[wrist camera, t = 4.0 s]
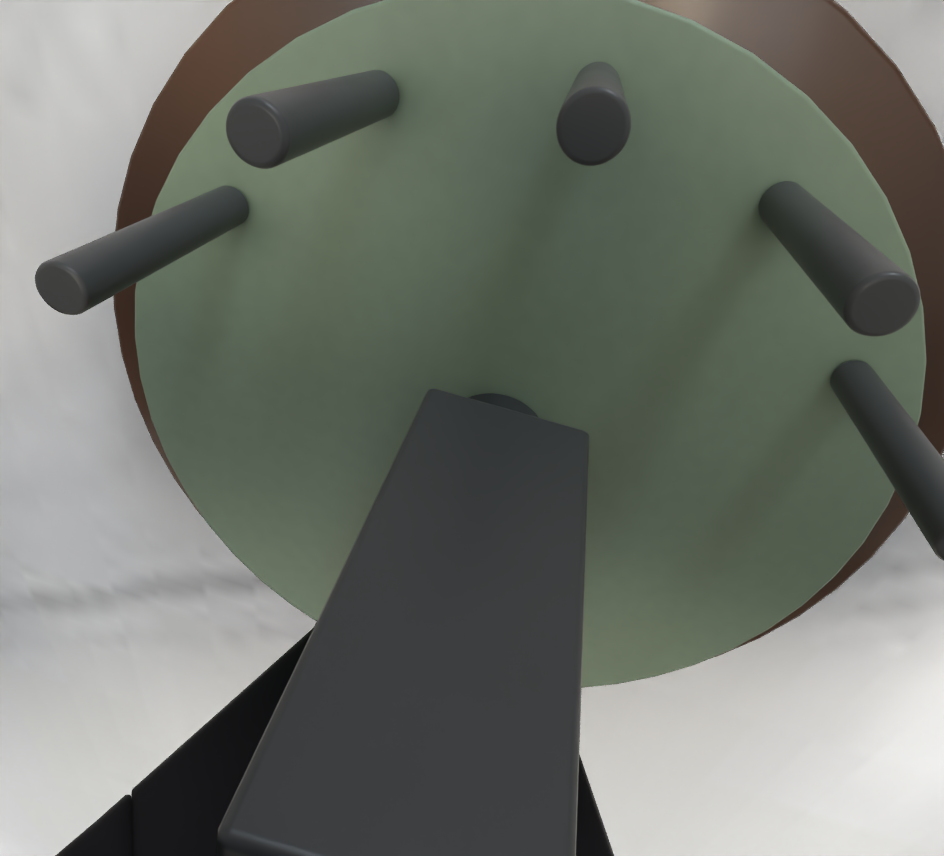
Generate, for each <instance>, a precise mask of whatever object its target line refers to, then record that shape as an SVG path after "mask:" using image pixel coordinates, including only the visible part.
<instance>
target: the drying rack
mask: <svg viewBox="0 0 944 856" xmlns="http://www.w3.org/2000/svg"><path fill="white" fill-rule="evenodd" d="M35 283H36V287H37V290H38V292H39V294H40V295H41V297H42V298H43V299H44V301H45V302H46V303H47V304H48V305H49V306H51V307H52V308H53V309H55V310H57V311H58V312H61V313H64V314H69V315H77V314H80V313H83V312H85V311H86V310H88V309H90V308H92V307H93V306H95V305H97V304H99V303H101V302H102V301H104V300H106V299H108V298H110V297H111V296H113V295H115V294H117V293H119V292H120V291H122V290H124V289H126V288H128V287H129V286H131V285H133V284H135V283H136V289H135V341H136V348H137V356H138V363H139V371H140V378H141V382H142V386H143V390H144V393H145V397H146V401H147V405H148V408H149V412H150V416H151V419H152V422H153V424H154V427H155V429H156V432H157V434H158V437H159V439H160V442H161V444H162V447H163V449H164V452H165V454H166V456H167V458H168V460H169V462H170V464H171V466H172V468H173V469H174V471H175V473H176V475H177V477H178V479H179V480H180V482H181V484H182V486H183V488H184V490H185V492H186V493H187V495H188V496H189V497H190V499H191V500H192V502H193V503H194V505H195V506H196V508H197V509H198V510H199V512H200V513H201V515H202V516H203V518H204V519H205V521H206V522H207V523H208V525H209V526H210V527H211V528H212V529H213V531H214V532H215V533H216V534H217V535H218V536H219V538H220V539H221V540H222V541H223V542H224V543H225V545H226V546H227V547H228V548H229V549H230V550H231V552H232V553H233V554H234V555H235V556H236V557H237V558H238V559H239V560H240V561H241V562H242V563H243V564H244V565H245V566H247V567H248V568H249V569H250V570H251V571H252V572H253V573H254V574H255V575H256V576H257V577H258V578H259V579H260V580H261V581H262V582H264V583H265V584H266V585H267V586H269V587H270V588H271V589H272V590H274V591H275V592H276V593H277V594H279V595H280V596H281V597H282V598H284V599H285V600H286V601H287V602H289V603H290V604H291V605H293V606H294V607H296V608H297V609H299V610H300V611H302V612H303V613H305V614H306V615H308V616H309V617H311V618H312V619H314V620H315V621H317V622H316V625H315V627H314V629H313V631H312V633H311V635H310V637H309V639H308V641H307V643H306V646H305V648H304V650H303V652H302V654H301V656H300V658H299V660H298V662H297V664H296V666H295V669H294V671H293V673H292V675H291V677H290V679H289V681H288V683H287V685H286V687H285V690H284V692H283V694H282V696H281V698H280V700H279V702H278V704H277V706H276V708H275V710H274V713H273V715H272V717H271V719H270V721H269V723H268V725H267V727H266V729H265V731H264V734H263V736H262V738H261V740H260V742H259V744H258V746H257V748H256V750H255V752H254V754H253V757H252V759H251V761H250V763H249V765H248V767H247V769H246V771H245V773H244V775H243V778H242V780H241V782H240V784H239V786H238V788H237V790H236V792H235V794H234V796H233V798H232V801H231V803H230V805H229V807H228V809H227V811H226V813H225V815H224V817H223V819H222V822H221V824H220V826H219V828H218V834H217V856H576V835H577V804H578V773H579V743H580V712H581V688H582V687H592V686H602V685H612V684H619V683H624V682H629V681H634V680H640V679H645V678H650V677H655V676H658V675H662V674H665V673H668V672H672V671H675V670H678V669H682V668H685V667H689V666H692V665H695V664H697V663H700V662H702V661H705V660H707V659H709V658H712V657H714V656H717V655H719V654H722V653H724V652H726V651H729V650H731V649H733V648H735V647H737V646H739V645H741V644H742V643H744V642H746V641H748V640H750V639H752V638H753V637H755V636H757V635H759V634H761V633H763V632H764V631H766V630H768V629H770V628H771V627H772V626H774V625H775V624H777V623H778V622H779V621H781V620H782V619H784V618H785V617H787V616H788V615H789V614H791V613H792V612H794V611H795V610H797V609H798V608H799V607H801V606H802V605H804V604H805V603H806V602H807V601H808V600H809V599H810V598H811V597H812V596H814V595H815V594H816V593H817V592H818V591H819V590H820V589H821V588H822V587H824V586H825V585H826V584H827V583H828V582H829V581H830V580H831V579H832V578H834V577H835V576H836V574H837V573H838V572H839V571H840V570H841V569H842V567H843V566H844V565H845V564H846V563H847V562H848V560H849V559H850V558H851V557H852V556H853V555H854V553H855V552H856V551H857V550H858V549H859V548H860V546H861V545H862V544H863V543H864V541H865V540H866V538H867V537H868V535H869V534H870V532H871V531H872V529H873V527H874V526H875V524H876V523H877V521H878V520H879V518H880V517H881V515H882V513H883V512H884V510H885V509H886V507H887V506H888V504H889V502H890V500H891V497H892V495H893V493H894V491H895V490H896V492H897V493H898V495H899V496H900V498H901V500H902V501H903V503H904V504H905V506H906V508H907V509H908V511H909V512H910V514H911V516H912V517H913V519H914V520H915V522H916V524H917V525H918V527H919V528H920V530H921V532H922V533H923V535H924V536H925V538H926V540H927V541H928V543H929V544H930V546H931V548H932V549H933V551H934V552H935V554H936V555H937V556H938V557H939V558H940V559H942V560H944V459H943V458H942V457H941V455H940V454H939V453H938V451H937V450H936V449H935V448H934V446H933V445H932V444H931V442H930V441H929V440H928V439H927V437H926V436H925V435H924V433H923V432H922V431H921V430H920V428H919V427H918V422H919V419H920V415H921V408H922V399H923V389H924V380H925V371H926V345H925V329H924V313H923V305H922V300H921V296H920V289H919V286H918V284H917V279H916V275H915V271H914V267H913V262H912V258H911V254H910V251H909V249H908V246H907V244H906V242H905V239H904V237H903V235H902V232H901V230H900V228H899V225H898V223H897V221H896V218H895V216H894V214H893V211H892V209H891V207H890V204H889V202H888V200H887V197H886V196H885V194H884V193H883V191H882V189H881V188H880V186H879V185H878V183H877V182H876V180H875V179H874V177H873V176H872V174H871V172H870V171H869V169H868V168H867V166H866V165H865V163H864V162H863V160H862V159H861V157H860V156H859V154H858V152H857V151H856V149H855V148H854V146H853V145H852V143H851V142H850V141H849V140H848V139H847V138H846V137H845V136H844V135H843V134H842V133H841V132H840V130H839V129H838V128H837V127H836V126H835V125H834V124H833V123H832V122H831V121H830V120H829V118H828V117H827V116H826V115H825V114H824V113H823V112H822V111H821V110H820V109H819V108H818V107H817V105H816V104H815V103H814V102H813V101H812V100H811V99H810V98H809V97H808V96H807V95H806V94H805V93H804V92H802V91H801V90H800V89H798V88H797V87H796V86H795V85H793V84H792V83H791V82H789V81H788V80H787V79H786V78H784V77H783V76H782V75H780V74H779V73H778V72H777V71H775V70H774V69H773V68H771V67H770V66H769V65H768V64H766V63H765V62H764V61H762V60H761V59H760V58H759V57H757V56H756V55H755V54H753V53H752V52H750V51H748V50H746V49H744V48H743V47H741V46H739V45H737V44H735V43H733V42H732V41H730V40H728V39H726V38H724V37H722V36H721V35H719V34H717V33H715V32H713V31H711V30H710V29H708V28H706V27H704V26H702V25H700V24H699V23H697V22H695V21H693V20H691V19H688V18H686V17H683V16H680V15H677V14H674V13H671V12H669V11H666V10H663V9H660V8H657V7H654V6H652V5H649V4H646V3H643V2H640V1H637V0H383V1H380V2H377V3H373V4H370V5H367V6H364V7H360V8H357V9H354V10H351V11H349V12H347V13H345V14H343V15H341V16H339V17H337V18H335V19H333V20H331V21H329V22H327V23H325V24H323V25H321V26H319V27H317V28H315V29H313V30H311V31H309V32H307V33H305V34H303V35H301V36H299V37H297V38H295V39H294V40H293V41H291V42H290V43H288V44H287V45H286V46H284V47H283V48H282V49H280V50H279V51H277V52H276V53H275V54H273V55H272V56H270V57H269V58H268V59H266V60H265V61H263V62H262V63H261V64H259V65H258V66H257V67H255V68H254V69H252V70H251V71H250V72H248V73H247V74H246V75H245V76H244V77H243V78H242V79H241V80H240V81H239V82H238V83H237V84H236V85H235V86H234V87H233V88H232V89H231V90H230V91H229V92H228V93H227V94H226V95H225V96H224V97H223V98H222V99H221V100H220V101H219V103H218V104H217V105H216V106H215V107H214V108H213V109H212V110H211V111H210V112H209V113H208V114H207V116H206V117H205V118H204V120H203V121H202V123H201V124H200V126H199V127H198V128H197V130H196V131H195V133H194V134H193V135H192V137H191V138H190V140H189V141H188V142H187V144H186V145H185V147H184V148H183V149H182V151H181V152H180V154H179V155H178V157H177V159H176V161H175V163H174V165H173V167H172V169H171V171H170V173H169V175H168V177H167V179H166V181H165V184H164V186H163V188H162V190H161V192H160V194H159V196H158V198H157V200H156V203H155V206H154V209H153V212H152V216H151V217H148V218H146V219H144V220H141V221H139V222H137V223H134V224H132V225H130V226H127V227H125V228H123V229H120V230H118V231H116V232H113V233H111V234H109V235H106V236H104V237H102V238H99V239H97V240H95V241H92V242H90V243H88V244H85V245H83V246H81V247H78V248H76V249H74V250H71V251H69V252H67V253H64V254H62V255H60V256H57V257H55V258H53V259H50V260H48V261H46V262H44V263H42V264H41V265H40V266H39V268H38V269H37V272H36V275H35Z"/></svg>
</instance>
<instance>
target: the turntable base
mask: <svg viewBox="0 0 944 856" xmlns="http://www.w3.org/2000/svg"><path fill="white" fill-rule="evenodd" d="M380 1H383V0H233V1H232V2H231V3H229V4H228V5H227V6H226V7H225V8H224V9H223V10H222V12H221V13H220V14H219V15H218V16H217V17H216V18H215V20H214V21H213V22H212V23H211V24H210V25H209V26H208V28H207V29H206V30H205V31H204V32H203V33H202V34H201V36H200V37H199V38H198V39H197V40H196V41H195V42H194V44H193V45H192V46H191V47H190V48H189V49H188V50H187V52H186V53H185V54H184V56H183V57H182V59H181V61H180V62H179V64H178V65H177V67H176V69H175V70H174V72H173V73H172V75H171V77H170V78H169V80H168V81H167V83H166V85H165V86H164V88H163V89H162V91H161V93H160V94H159V96H158V97H157V99H156V101H155V102H154V104H153V106H152V108H151V111H150V113H149V115H148V118H147V120H146V122H145V125H144V127H143V130H142V132H141V134H140V137H139V139H138V141H137V144H136V146H135V148H134V151H133V153H132V155H131V159H130V163H129V166H128V170H127V174H126V178H125V182H124V186H123V190H122V194H121V198H120V202H119V206H118V211H117V221H116V230H115V232H116V231H118V230H120V229H123V228H125V227H127V226H130V225H132V224H134V223H137V222H139V221H141V220H144V219H146V218H148V217H151V216H152V212H153V209H154V206H155V203H156V200H157V198H158V196H159V194H160V192H161V190H162V188H163V186H164V184H165V181H166V179H167V177H168V175H169V173H170V171H171V169H172V167H173V165H174V163H175V161H176V159H177V157H178V155H179V154H180V152H181V151H182V149H183V148H184V147H185V145H186V144H187V142H188V141H189V140H190V138H191V137H192V135H193V134H194V133H195V131H196V130H197V128H198V127H199V126H200V124H201V123H202V121H203V120H204V118H205V117H206V116H207V114H208V113H209V112H210V111H211V110H212V109H213V108H214V107H215V106H216V105H217V104H218V103H219V101H220V100H221V99H222V98H223V97H224V96H225V95H226V94H227V93H228V92H229V91H230V90H231V89H232V88H233V87H234V86H235V85H236V84H237V83H238V82H239V81H240V80H241V79H242V78H243V77H244V76H245V75H246V74H247V73H248V72H250V71H251V70H252V69H254V68H255V67H257V66H258V65H259V64H261V63H262V62H263V61H265V60H266V59H268V58H269V57H270V56H272V55H273V54H275V53H276V52H277V51H279V50H280V49H282V48H283V47H284V46H286V45H287V44H288V43H290V42H291V41H293V40H294V39H295V38H297V37H299V36H301V35H303V34H305V33H307V32H309V31H311V30H313V29H315V28H317V27H319V26H321V25H323V24H325V23H327V22H329V21H331V20H333V19H335V18H337V17H339V16H341V15H343V14H345V13H347V12H349V11H351V10H354V9H357V8H360V7H364V6H367V5H370V4H373V3H377V2H380ZM637 1H640V2H643V3H646V4H649V5H652V6H654V7H657V8H660V9H663V10H666V11H669V12H671V13H674V14H677V15H680V16H683V17H686V18H688V19H691V20H693V21H695V22H697V23H699V24H700V25H702V26H704V27H706V28H708V29H710V30H711V31H713V32H715V33H717V34H719V35H721V36H722V37H724V38H726V39H728V40H730V41H732V42H733V43H735V44H737V45H739V46H741V47H743V48H744V49H746V50H748V51H750V52H752V53H753V54H755V55H756V56H757V57H759V58H760V59H761V60H762V61H764V62H765V63H766V64H768V65H769V66H770V67H771V68H773V69H774V70H775V71H777V72H778V73H779V74H780V75H782V76H783V77H784V78H786V79H787V80H788V81H789V82H791V83H792V84H793V85H795V86H796V87H797V88H798V89H800V90H801V91H802V92H804V93H805V94H806V95H807V96H808V97H809V98H810V99H811V100H812V101H813V102H814V103H815V104H816V105H817V107H818V108H819V109H820V110H821V111H822V112H823V113H824V114H825V115H826V116H827V117H828V118H829V120H830V121H831V122H832V123H833V124H834V125H835V126H836V127H837V128H838V129H839V130H840V132H841V133H842V134H843V135H844V136H845V137H846V138H847V139H848V140H849V141H850V142H851V143H852V145H853V146H854V148H855V149H856V151H857V152H858V154H859V156H860V157H861V159H862V160H863V162H864V163H865V165H866V166H867V168H868V169H869V171H870V172H871V174H872V176H873V177H874V179H875V180H876V182H877V183H878V185H879V186H880V188H881V189H882V191H883V193H884V194H885V196H886V197H887V200H888V202H889V204H890V207H891V209H892V211H893V214H894V216H895V218H896V221H897V223H898V225H899V228H900V230H901V232H902V235H903V237H904V239H905V242H906V244H907V246H908V249H909V251H910V254H911V258H912V262H913V267H914V271H915V275H916V279H917V284H918V286H919V289H920V296H921V300H922V305H923V313H924V329H925V345H926V371H925V380H924V389H923V399H922V408H921V415H920V419H919V422H918V427H919V428H920V430H921V431H922V432H923V433H924V435H925V436H926V437H927V439H928V440H929V441H930V442H931V444H932V445H933V446H934V448H935V449H936V450H937V451H938V453H939V454H940V455H941V456H942V454H943V451H944V147H943V145H942V142H941V140H940V137H939V135H938V133H937V130H936V128H935V125H934V124H933V122H932V121H931V119H930V118H929V116H928V114H927V113H926V111H925V110H924V108H923V106H922V105H921V103H920V102H919V100H918V99H917V97H916V95H915V94H914V92H913V91H912V89H911V87H910V86H909V84H908V83H907V81H906V79H905V78H904V76H903V75H902V73H901V72H900V70H899V68H898V67H897V65H896V64H895V63H894V62H893V61H892V60H891V59H890V58H889V56H888V55H887V54H886V53H885V52H884V51H883V50H882V49H881V48H880V47H879V45H878V44H877V43H876V42H875V41H874V40H873V39H872V38H871V37H870V36H869V34H868V33H867V32H866V31H865V30H864V29H863V28H862V27H861V26H860V25H859V23H858V22H857V21H856V20H855V19H854V18H853V17H852V16H851V15H850V14H849V12H848V11H847V10H846V9H844V8H843V7H842V6H840V5H839V4H838V3H837V2H835V1H834V0H637ZM135 289H136V283H135V284H133V285H131V286H129V287H128V288H126V289H124V290H122V291H120V292H119V293H117V294H115V295H114V311H115V317H116V323H117V329H118V335H119V341H120V347H121V353H122V357H123V361H124V364H125V367H126V371H127V374H128V378H129V381H130V384H131V388H132V391H133V394H134V398H135V401H136V403H137V405H138V408H139V410H140V412H141V415H142V417H143V419H144V422H145V424H146V426H147V429H148V431H149V433H150V436H151V438H152V440H153V442H154V444H155V445H156V447H157V449H158V451H159V453H160V454H161V456H162V458H163V460H164V461H165V463H166V465H167V467H168V468H169V470H170V472H171V474H172V475H173V477H174V479H175V480H176V482H177V483H178V484H179V486H180V487H181V489H182V490H183V491H184V493H185V494H186V496H187V497H188V498H189V500H190V501H191V503H192V504H193V505H194V503H193V502H192V500H191V499H190V497H189V496H188V495H187V493H186V492H185V490H184V488H183V486H182V484H181V482H180V480H179V479H178V477H177V475H176V473H175V471H174V469H173V468H172V466H171V464H170V462H169V460H168V458H167V456H166V454H165V452H164V449H163V447H162V444H161V442H160V439H159V437H158V434H157V432H156V429H155V427H154V424H153V422H152V419H151V416H150V412H149V408H148V405H147V401H146V397H145V393H144V390H143V386H142V382H141V378H140V371H139V363H138V356H137V348H136V341H135ZM194 507H195V508H196V506H195V505H194ZM196 510H197V511H198V512H199V510H198V509H197V508H196ZM908 513H909V511H908V509H907V508H906V506H905V504H904V503H903V501H902V500H901V498H900V496H899V495H898V493H897V492H896V490H895V491H894V493H893V495H892V497H891V500H890V502H889V504H888V506H887V507H886V509H885V510H884V512H883V513H882V515H881V517H880V518H879V520H878V521H877V523H876V524H875V526H874V527H873V529H872V531H871V532H870V534H869V535H868V537H867V538H866V540H865V541H864V543H863V544H862V545H861V546H860V548H859V549H858V550H857V551H856V552H855V553H854V555H853V556H852V557H851V558H850V559H849V560H848V562H847V563H846V564H845V565H844V566H843V567H842V569H841V570H840V571H839V572H838V573H837V574H836V576H835V577H834V578H832V579H831V580H830V581H829V582H828V583H827V584H826V585H825V586H824V587H822V588H821V589H820V590H819V591H818V592H817V593H816V594H815V595H814V596H812V597H811V598H810V599H809V600H808V601H807V602H806V603H805V604H804V605H802V606H801V607H799V608H798V609H797V610H795V611H794V612H792V613H791V614H789V615H788V616H787V617H785V618H784V619H782V620H781V621H779V622H778V623H777V624H775V625H774V626H772V627H771V628H770V629H768V630H766V631H764V632H763V633H761V634H759V635H757V636H755V637H753V638H752V639H750V640H748V641H746V642H744V643H742V644H741V645H739V646H737V647H735V648H738V647H740V646H742V645H745V644H747V643H749V642H752V641H754V640H756V639H759V638H761V637H762V636H764V635H766V634H768V633H770V632H771V631H773V630H775V629H777V628H779V627H780V626H782V625H784V624H786V623H788V622H789V621H791V620H793V619H795V618H797V617H798V616H800V615H801V614H803V613H804V612H805V611H807V610H808V609H810V608H811V607H812V606H814V605H815V604H817V603H818V602H819V601H821V600H822V599H824V598H825V597H826V596H828V595H829V594H831V593H832V592H833V591H835V590H836V589H837V588H839V587H840V586H841V585H842V584H843V583H844V582H845V581H846V580H847V579H848V578H849V577H851V576H852V575H853V574H854V573H855V572H856V571H857V570H858V569H859V568H860V567H862V566H863V565H864V564H865V563H866V562H867V561H868V560H869V559H870V558H871V557H872V556H873V555H874V554H875V553H876V552H877V551H878V549H879V548H880V547H881V546H882V545H883V544H884V542H885V541H886V540H887V539H888V538H889V537H890V535H891V534H892V533H893V532H894V531H895V530H896V528H897V527H898V526H899V525H900V524H901V522H902V521H903V520H904V519H905V517H906V516H907V514H908ZM199 514H200V515H201V513H200V512H199ZM201 516H202V515H201ZM202 517H203V516H202ZM735 648H733V649H735ZM733 649H731V650H733ZM731 650H729V651H731ZM726 652H728V651H726ZM726 652H724V653H726ZM724 653H722V654H724ZM719 655H721V654H719ZM719 655H717V656H719ZM714 657H716V656H714ZM712 658H713V657H712ZM709 659H710V658H709Z"/></svg>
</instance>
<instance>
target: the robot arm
mask: <svg viewBox="0 0 944 856" xmlns="http://www.w3.org/2000/svg"><path fill="white" fill-rule="evenodd" d="M313 629H314V628H313ZM313 629H312V630H311V631H310V632H308V633H307V634H306V635H305V636H304V637H303V638H302V639H301V640H299V641H298V642H297V643H296V644H295V645H294V646H293V647H292V648H290V649H289V650H288V651H287V652H286V653H285V654H284V655H283V656H281V657H280V658H279V659H278V660H277V661H276V662H275V663H274V664H272V665H271V666H270V667H269V668H268V669H267V670H266V671H265V672H264V673H262V674H261V675H260V676H259V677H258V678H257V679H256V680H255V681H253V682H252V683H251V684H250V685H249V686H248V687H247V688H246V689H244V690H243V691H242V692H241V693H240V694H239V695H238V696H237V697H235V698H234V699H233V700H232V701H231V702H230V703H229V704H228V705H226V706H225V707H224V708H223V709H222V710H221V711H220V712H219V713H217V714H216V715H215V716H214V717H213V718H212V719H211V720H210V721H208V722H207V723H206V724H205V725H204V726H203V727H202V728H201V729H200V730H198V731H197V732H196V733H195V734H194V735H193V736H192V737H191V738H189V739H188V740H187V741H186V742H185V743H184V744H183V745H182V746H180V747H179V748H178V749H177V750H176V751H175V752H174V753H173V754H171V755H170V756H169V757H168V758H167V759H166V760H165V761H164V762H162V763H161V764H160V765H159V766H158V767H157V768H156V769H155V770H153V771H152V772H151V773H150V774H149V775H148V776H147V777H146V778H144V779H143V780H142V781H141V782H140V783H139V784H138V785H137V786H135V787H134V788H133V790H132V797H131V796H130V795H125V796H124V797H123V798H122V799H120V800H119V801H118V802H117V803H116V804H115V805H114V806H113V807H112V808H110V809H109V810H108V811H107V812H106V813H105V814H104V815H103V816H101V817H100V818H99V819H98V820H97V821H96V822H95V823H93V824H92V825H91V826H90V827H89V828H88V829H86V830H85V831H84V832H83V833H82V834H80V835H79V836H78V837H77V838H76V839H75V840H73V841H72V842H71V843H70V844H69V845H67V846H66V847H65V848H64V849H63V850H62V851H60V852H59V853H58V854H57V855H56V856H217V834H218V828H219V826H220V824H221V822H222V819H223V817H224V815H225V813H226V811H227V809H228V807H229V805H230V803H231V801H232V798H233V796H234V794H235V792H236V790H237V788H238V786H239V784H240V782H241V780H242V778H243V775H244V773H245V771H246V769H247V767H248V765H249V763H250V761H251V759H252V757H253V754H254V752H255V750H256V748H257V746H258V744H259V742H260V740H261V738H262V736H263V734H264V731H265V729H266V727H267V725H268V723H269V721H270V719H271V717H272V715H273V713H274V710H275V708H276V706H277V704H278V702H279V700H280V698H281V696H282V694H283V692H284V690H285V687H286V685H287V683H288V681H289V679H290V677H291V675H292V673H293V671H294V669H295V666H296V664H297V662H298V660H299V658H300V656H301V654H302V652H303V650H304V648H305V646H306V643H307V641H308V639H309V637H310V635H311V633H312V631H313ZM576 856H614V854H613V851H612V848H611V845H610V842H609V839H608V836H607V833H606V831H605V828H604V825H603V822H602V819H601V816H600V813H599V810H598V807H597V804H596V801H595V798H594V796H593V793H592V790H591V787H590V784H589V781H588V778H587V775H586V772H585V769H584V766H583V763H582V760H581V758H580V755H579V773H578V804H577V835H576Z"/></svg>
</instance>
